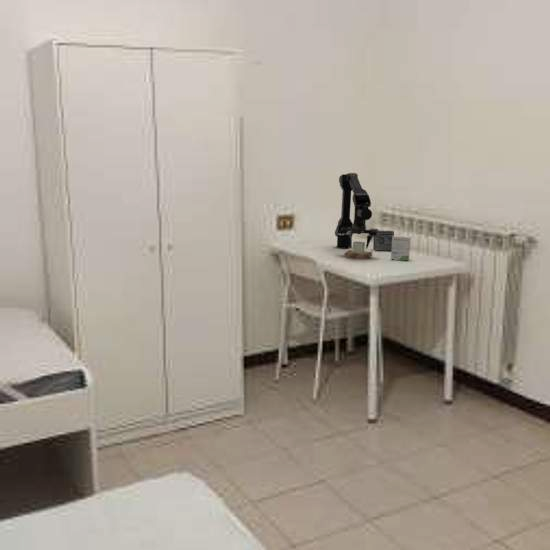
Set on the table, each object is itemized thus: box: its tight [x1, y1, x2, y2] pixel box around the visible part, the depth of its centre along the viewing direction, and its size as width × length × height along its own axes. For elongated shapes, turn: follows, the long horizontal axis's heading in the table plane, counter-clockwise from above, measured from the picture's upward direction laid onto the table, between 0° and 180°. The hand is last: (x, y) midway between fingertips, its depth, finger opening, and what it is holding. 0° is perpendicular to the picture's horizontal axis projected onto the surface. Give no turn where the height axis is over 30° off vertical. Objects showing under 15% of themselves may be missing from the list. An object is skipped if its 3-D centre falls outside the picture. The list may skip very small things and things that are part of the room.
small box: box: [372, 230, 395, 252], centre depth 378 cm, size 11×6×10 cm, turn 84°
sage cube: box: [352, 241, 366, 253], centre depth 358 cm, size 5×5×5 cm
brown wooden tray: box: [344, 249, 373, 260], centre depth 359 cm, size 12×10×2 cm
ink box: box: [390, 235, 411, 261], centre depth 352 cm, size 9×5×12 cm, turn 71°
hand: (358, 248), depth 358 cm, fingers open, 8 cm apart
